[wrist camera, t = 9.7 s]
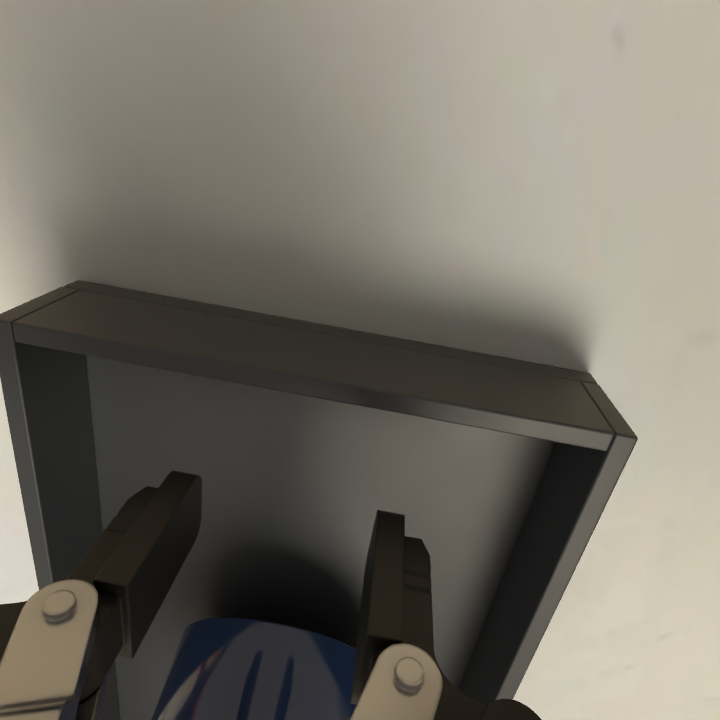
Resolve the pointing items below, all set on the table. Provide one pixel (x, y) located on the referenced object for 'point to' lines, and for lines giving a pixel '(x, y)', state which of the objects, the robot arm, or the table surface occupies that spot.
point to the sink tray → (306, 470)
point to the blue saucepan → (257, 673)
